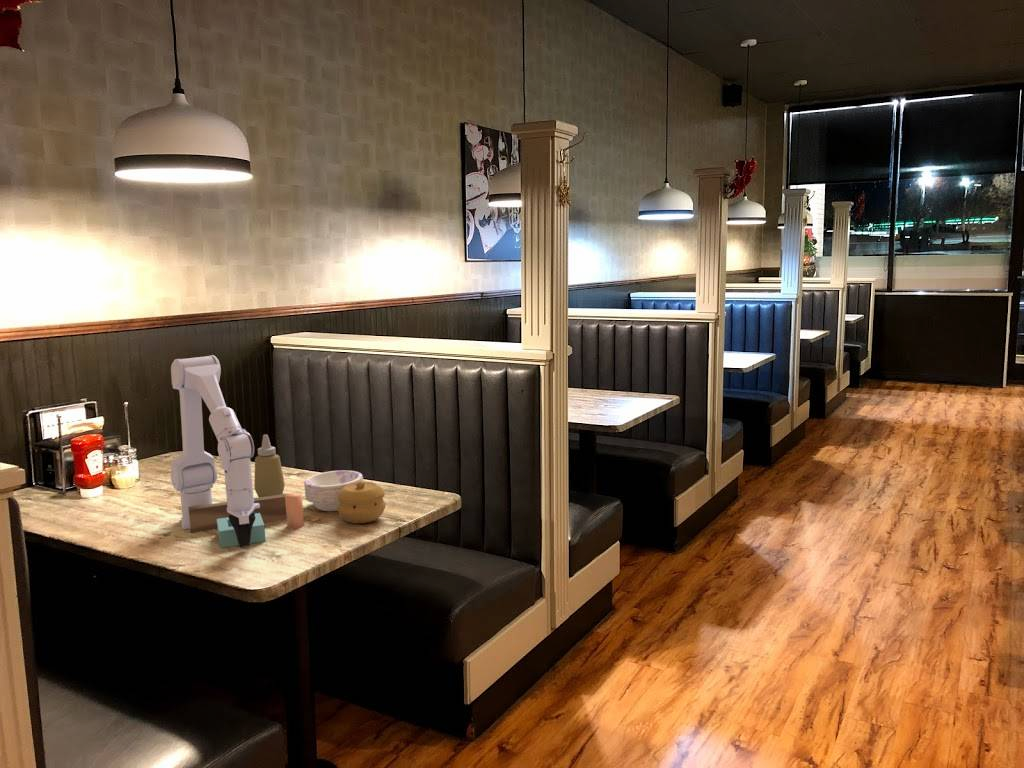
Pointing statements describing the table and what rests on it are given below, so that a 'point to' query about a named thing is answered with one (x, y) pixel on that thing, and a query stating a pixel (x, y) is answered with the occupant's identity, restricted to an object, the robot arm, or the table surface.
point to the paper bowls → (329, 488)
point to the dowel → (294, 510)
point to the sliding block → (229, 536)
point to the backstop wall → (208, 514)
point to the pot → (361, 502)
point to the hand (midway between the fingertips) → (244, 545)
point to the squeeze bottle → (268, 471)
